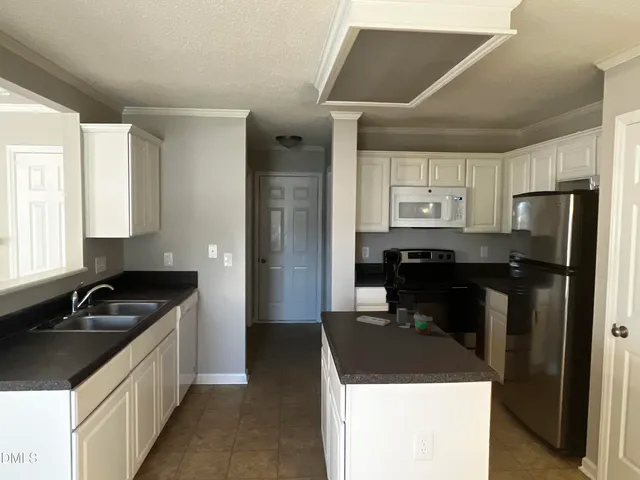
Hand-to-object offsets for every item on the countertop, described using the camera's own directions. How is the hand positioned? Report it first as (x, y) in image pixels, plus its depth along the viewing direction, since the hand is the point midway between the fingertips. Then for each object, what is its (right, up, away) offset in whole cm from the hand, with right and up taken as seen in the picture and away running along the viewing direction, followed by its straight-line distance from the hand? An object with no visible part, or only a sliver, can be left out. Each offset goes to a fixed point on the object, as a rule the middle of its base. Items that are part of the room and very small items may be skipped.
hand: (390, 296), depth 271 cm
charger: (+4, -14, -18) cm, 23 cm away
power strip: (-12, -14, -14) cm, 23 cm away
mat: (+4, -14, -18) cm, 23 cm away
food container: (+11, -16, -33) cm, 38 cm away
